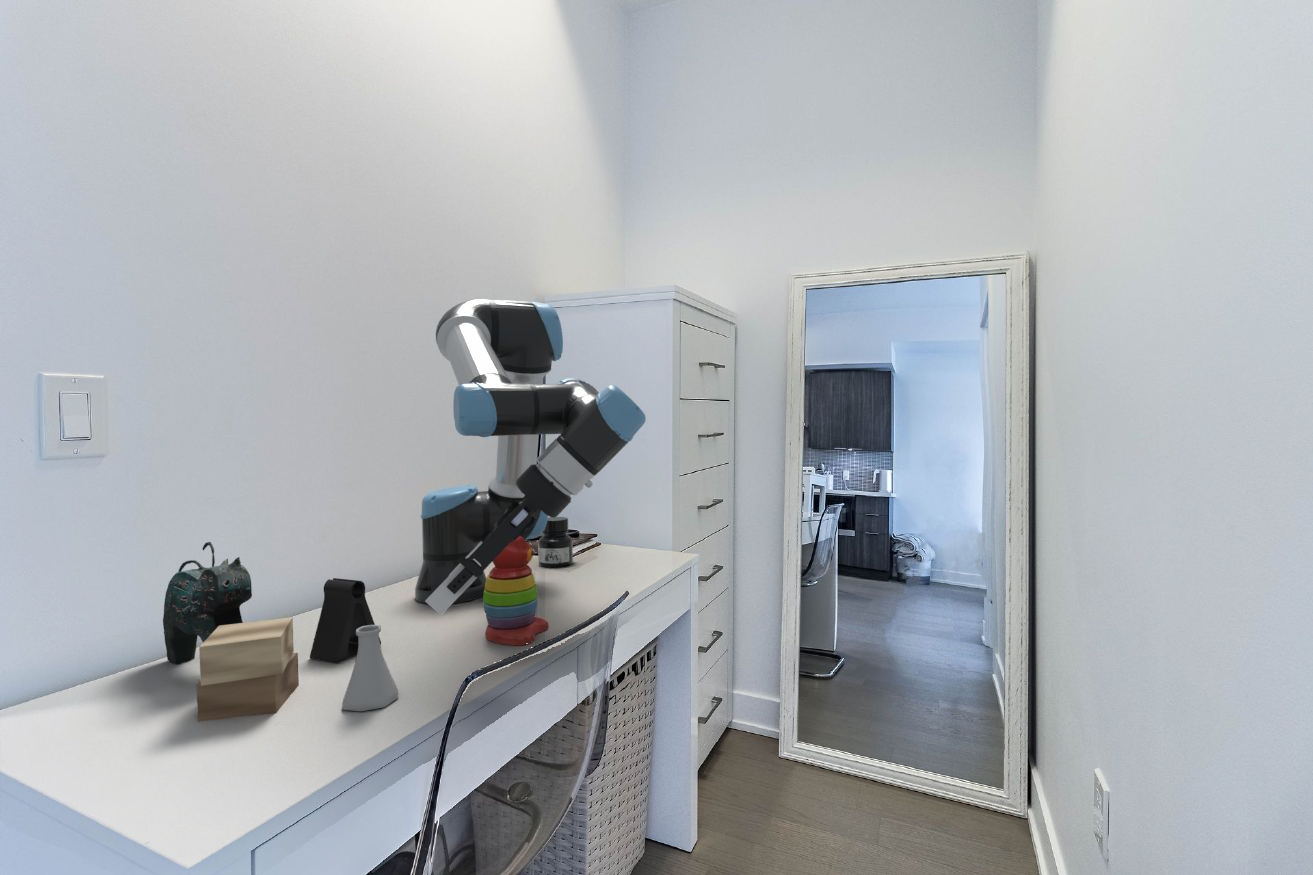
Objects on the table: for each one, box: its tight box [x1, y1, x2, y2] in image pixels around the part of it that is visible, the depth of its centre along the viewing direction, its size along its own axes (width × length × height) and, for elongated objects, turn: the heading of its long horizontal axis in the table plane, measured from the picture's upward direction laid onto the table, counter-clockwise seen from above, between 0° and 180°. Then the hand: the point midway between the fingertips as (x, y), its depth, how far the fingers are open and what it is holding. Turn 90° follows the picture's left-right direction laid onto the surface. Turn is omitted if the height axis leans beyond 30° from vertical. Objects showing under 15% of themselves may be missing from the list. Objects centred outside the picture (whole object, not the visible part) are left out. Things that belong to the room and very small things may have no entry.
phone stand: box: [309, 577, 382, 664], centre depth 104 cm, size 9×6×12 cm, turn 158°
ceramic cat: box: [162, 541, 253, 665], centre depth 97 cm, size 20×6×20 cm, turn 59°
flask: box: [341, 624, 399, 712], centre depth 85 cm, size 7×7×10 cm
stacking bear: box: [482, 536, 549, 646], centre depth 111 cm, size 11×10×18 cm
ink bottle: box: [537, 516, 574, 568], centre depth 165 cm, size 10×9×12 cm
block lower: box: [195, 652, 300, 723], centre depth 86 cm, size 9×9×5 cm
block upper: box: [198, 616, 295, 686], centre depth 86 cm, size 9×9×5 cm
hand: (445, 593), depth 86 cm, fingers open, 13 cm apart
